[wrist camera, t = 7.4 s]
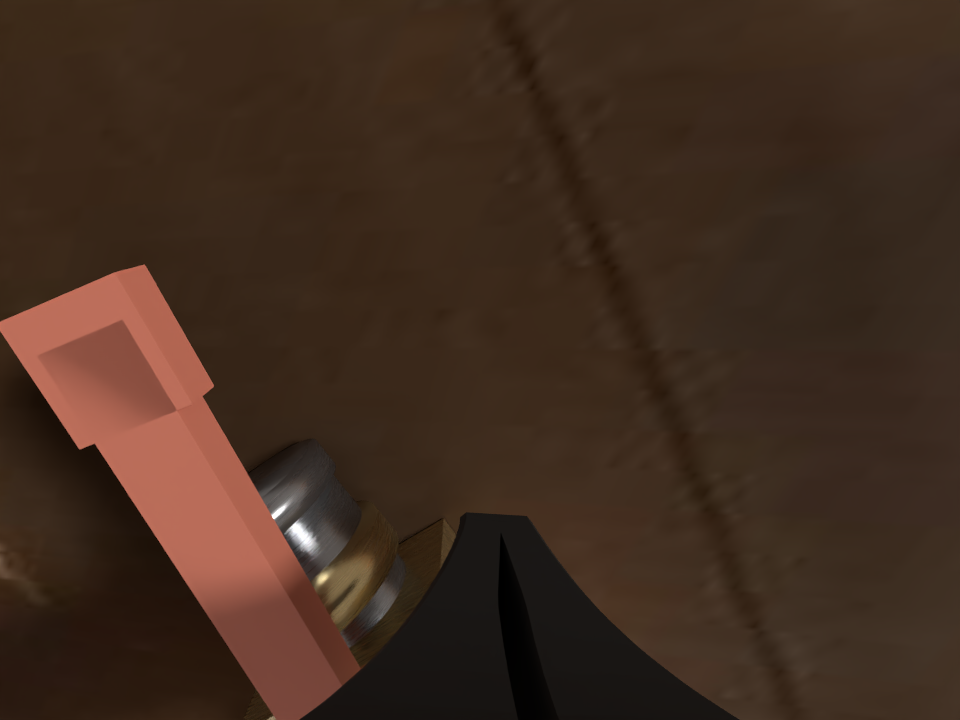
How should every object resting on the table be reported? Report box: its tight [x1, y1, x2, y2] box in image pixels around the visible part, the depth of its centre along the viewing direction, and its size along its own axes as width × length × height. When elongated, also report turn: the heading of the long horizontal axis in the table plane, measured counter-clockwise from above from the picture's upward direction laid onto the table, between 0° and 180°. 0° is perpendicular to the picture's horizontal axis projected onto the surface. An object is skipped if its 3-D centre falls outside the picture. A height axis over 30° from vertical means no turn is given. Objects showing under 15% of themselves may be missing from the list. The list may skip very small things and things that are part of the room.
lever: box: [0, 265, 361, 720], centre depth 12 cm, size 15×3×2 cm, turn 22°
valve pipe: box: [169, 439, 456, 720], centre depth 17 cm, size 15×6×5 cm, turn 33°
